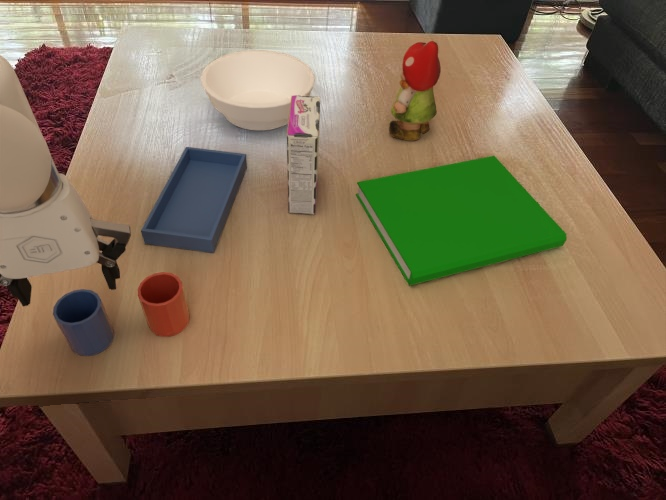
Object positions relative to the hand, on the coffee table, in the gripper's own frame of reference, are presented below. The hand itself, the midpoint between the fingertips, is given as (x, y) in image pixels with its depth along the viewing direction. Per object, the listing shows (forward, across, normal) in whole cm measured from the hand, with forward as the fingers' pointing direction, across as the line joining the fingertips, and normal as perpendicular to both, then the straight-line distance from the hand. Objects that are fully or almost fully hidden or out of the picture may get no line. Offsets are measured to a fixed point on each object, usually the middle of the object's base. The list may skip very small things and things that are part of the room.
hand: (71, 288), depth 64 cm
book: (+11, +59, +9) cm, 60 cm away
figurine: (+11, +61, +36) cm, 72 cm away
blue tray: (+10, +17, +23) cm, 31 cm away
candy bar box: (+11, +35, +22) cm, 42 cm away
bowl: (+11, +33, +49) cm, 60 cm away
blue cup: (+10, 0, -1) cm, 10 cm away
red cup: (+10, +10, 0) cm, 14 cm away
